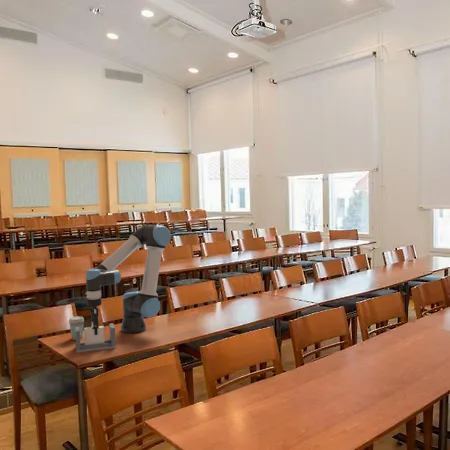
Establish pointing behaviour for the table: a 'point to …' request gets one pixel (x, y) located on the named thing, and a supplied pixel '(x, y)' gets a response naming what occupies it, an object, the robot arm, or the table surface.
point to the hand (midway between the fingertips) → (95, 337)
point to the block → (89, 335)
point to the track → (106, 345)
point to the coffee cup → (76, 322)
